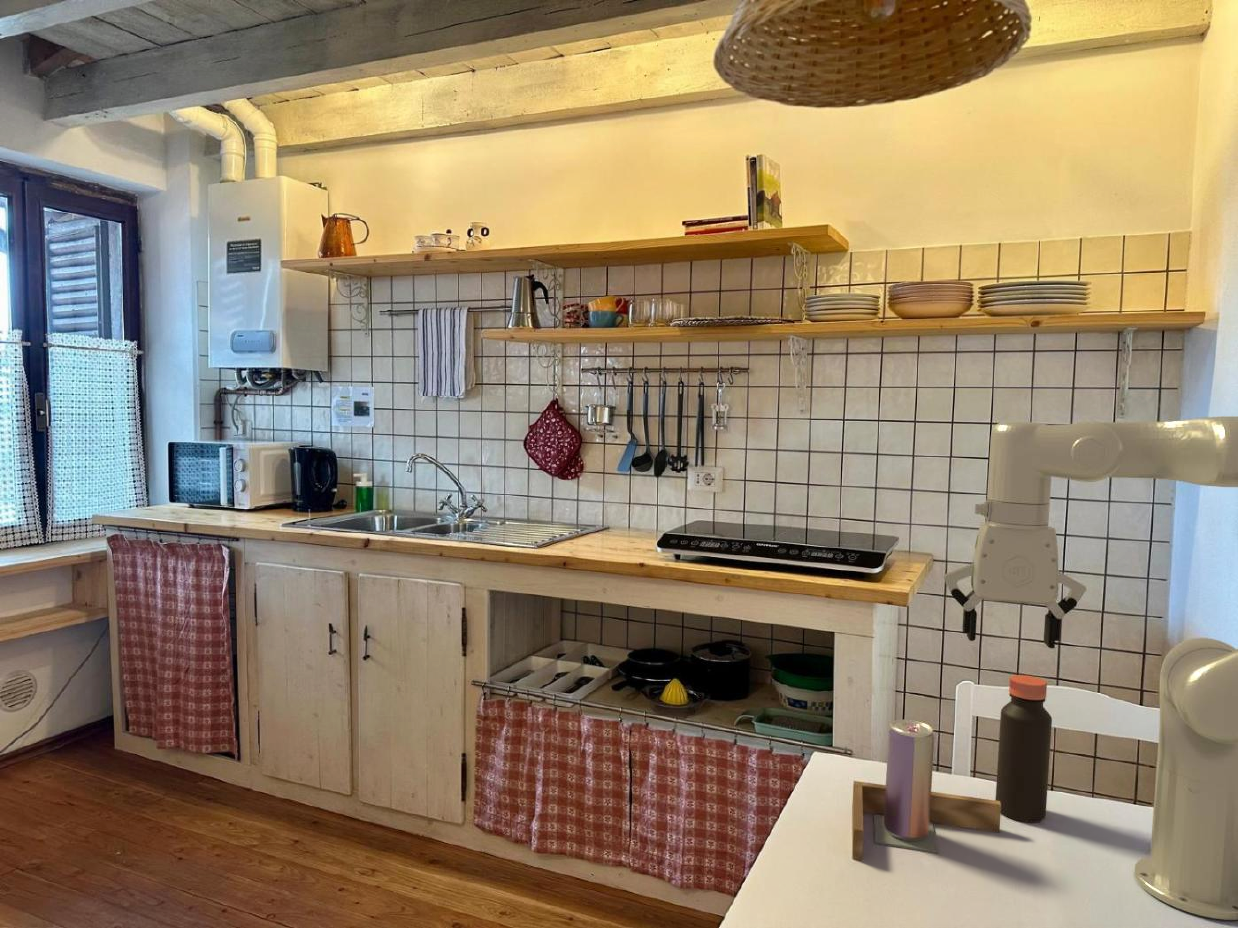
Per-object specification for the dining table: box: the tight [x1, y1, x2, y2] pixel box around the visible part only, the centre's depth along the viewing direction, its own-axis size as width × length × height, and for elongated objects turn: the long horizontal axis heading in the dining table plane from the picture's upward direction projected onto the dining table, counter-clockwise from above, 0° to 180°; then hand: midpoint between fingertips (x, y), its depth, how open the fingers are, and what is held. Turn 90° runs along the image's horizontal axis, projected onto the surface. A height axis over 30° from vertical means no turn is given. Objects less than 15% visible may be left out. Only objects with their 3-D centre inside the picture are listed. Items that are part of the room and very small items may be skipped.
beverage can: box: [883, 719, 935, 841], centre depth 117 cm, size 6×6×15 cm
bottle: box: [994, 674, 1053, 823], centre depth 124 cm, size 7×7×20 cm
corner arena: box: [851, 780, 1002, 861], centre depth 115 cm, size 20×15×4 cm
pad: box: [873, 814, 939, 854], centre depth 117 cm, size 8×8×1 cm
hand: (1009, 641), depth 113 cm, fingers open, 9 cm apart
